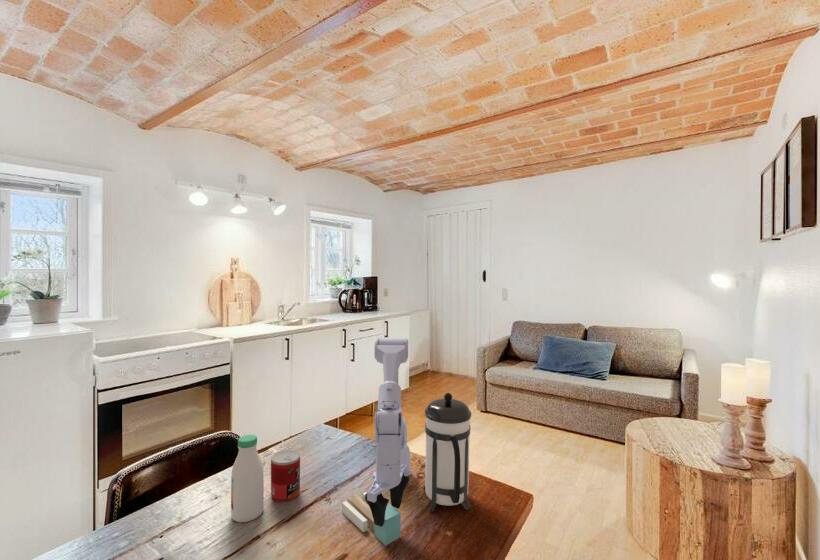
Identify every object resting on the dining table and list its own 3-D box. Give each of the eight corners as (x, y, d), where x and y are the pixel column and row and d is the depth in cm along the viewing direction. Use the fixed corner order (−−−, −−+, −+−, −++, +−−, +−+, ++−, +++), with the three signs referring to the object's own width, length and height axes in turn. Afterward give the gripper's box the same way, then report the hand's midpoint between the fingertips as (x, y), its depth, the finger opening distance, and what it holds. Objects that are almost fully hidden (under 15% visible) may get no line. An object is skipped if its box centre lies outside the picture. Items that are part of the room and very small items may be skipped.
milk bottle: (269, 508, 102) (269, 434, 101) (248, 526, 94) (248, 446, 94) (246, 501, 104) (246, 429, 104) (224, 519, 97) (224, 441, 96)
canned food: (291, 504, 103) (291, 464, 103) (265, 500, 105) (265, 461, 105) (304, 488, 111) (305, 451, 111) (279, 485, 112) (280, 448, 112)
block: (389, 527, 95) (389, 503, 95) (400, 537, 91) (400, 512, 91) (374, 535, 92) (374, 510, 92) (385, 545, 89) (385, 520, 88)
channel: (366, 500, 105) (366, 491, 105) (388, 519, 98) (388, 509, 98) (341, 511, 100) (342, 502, 100) (363, 532, 93) (363, 522, 93)
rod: (355, 503, 105) (355, 494, 105) (385, 530, 94) (385, 520, 94) (347, 507, 103) (347, 497, 103) (376, 535, 92) (376, 524, 92)
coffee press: (406, 501, 105) (407, 393, 104) (441, 478, 117) (443, 381, 116) (457, 531, 93) (459, 410, 93) (491, 502, 105) (493, 395, 104)
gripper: (389, 443, 99) (389, 495, 100) (356, 468, 87) (355, 527, 87) (413, 450, 96) (413, 503, 96) (382, 477, 83) (381, 538, 84)
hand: (387, 515), depth 92 cm, fingers open, 7 cm apart
